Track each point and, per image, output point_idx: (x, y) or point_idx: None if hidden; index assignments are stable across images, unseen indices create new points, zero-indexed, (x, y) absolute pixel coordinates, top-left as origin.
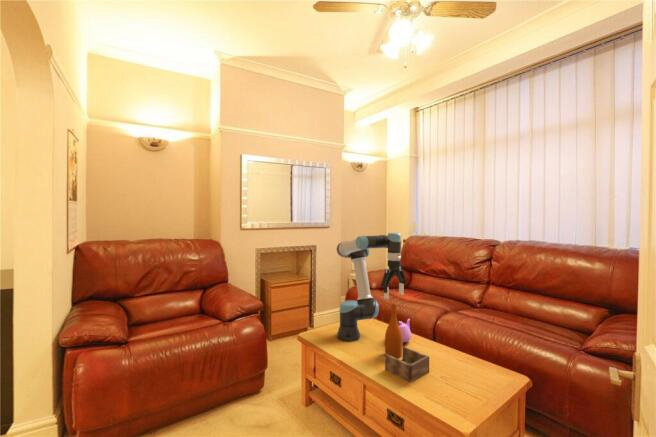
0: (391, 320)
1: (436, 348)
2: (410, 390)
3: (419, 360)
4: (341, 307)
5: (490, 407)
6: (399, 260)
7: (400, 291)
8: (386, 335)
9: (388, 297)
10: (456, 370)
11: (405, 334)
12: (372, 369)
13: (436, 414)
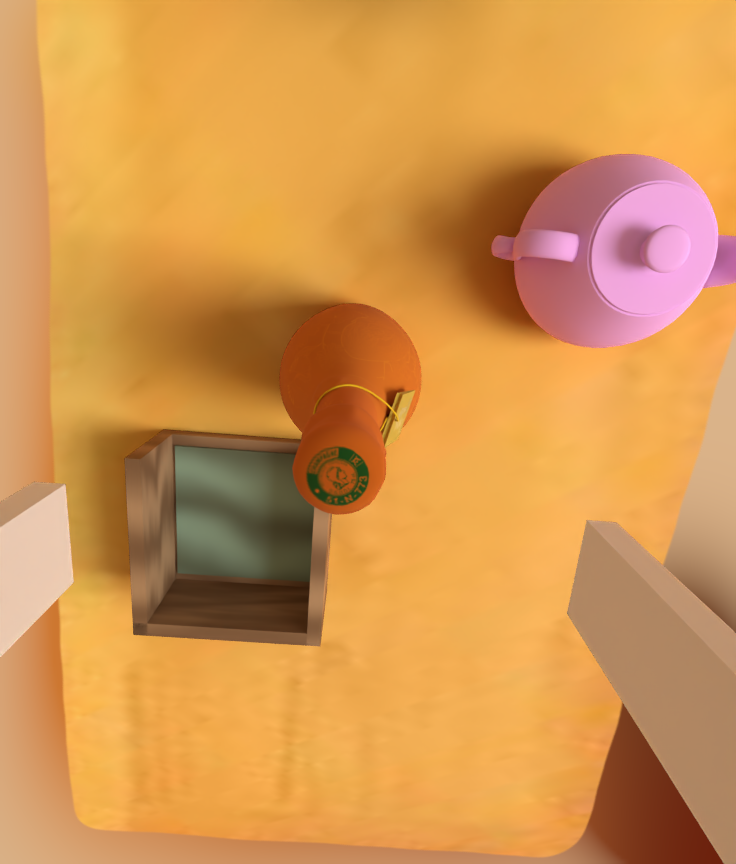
0: (313, 405)
1: (626, 493)
2: (115, 610)
3: (231, 633)
4: None
5: (261, 832)
6: None
7: (610, 593)
8: (284, 352)
9: (47, 598)
10: (439, 666)
11: (575, 334)
12: (110, 375)
13: (67, 740)
